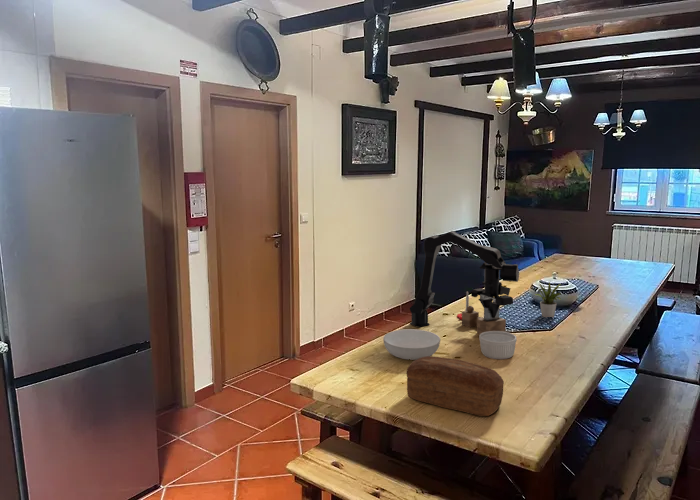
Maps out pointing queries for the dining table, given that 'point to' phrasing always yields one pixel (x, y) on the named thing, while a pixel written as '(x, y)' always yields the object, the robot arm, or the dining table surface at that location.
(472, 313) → the wooden hollow frame
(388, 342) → the serving bowl
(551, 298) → the house plant
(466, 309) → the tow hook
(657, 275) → the dining table surface
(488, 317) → the tall grey upright block
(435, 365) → the bread
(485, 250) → the robot arm
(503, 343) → the ramekin
